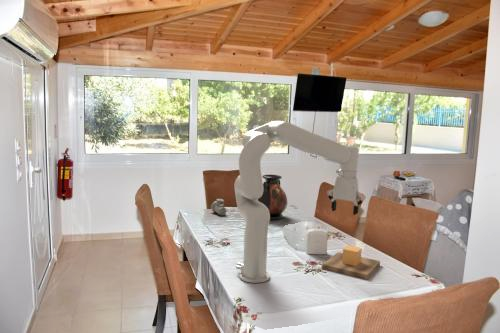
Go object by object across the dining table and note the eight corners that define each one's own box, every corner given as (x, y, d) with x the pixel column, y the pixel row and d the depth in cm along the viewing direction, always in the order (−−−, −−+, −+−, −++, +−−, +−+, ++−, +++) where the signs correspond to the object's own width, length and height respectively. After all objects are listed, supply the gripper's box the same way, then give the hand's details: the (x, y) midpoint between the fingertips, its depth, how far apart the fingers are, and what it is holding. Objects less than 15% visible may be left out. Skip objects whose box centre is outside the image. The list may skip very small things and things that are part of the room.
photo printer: (306, 254, 192) (307, 230, 191) (305, 251, 197) (306, 227, 195) (327, 255, 192) (329, 230, 191) (326, 252, 196) (327, 228, 195)
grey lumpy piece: (209, 211, 271) (211, 197, 269) (220, 211, 275) (222, 197, 273) (216, 217, 261) (218, 203, 259) (227, 217, 264) (229, 203, 263)
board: (321, 268, 175) (322, 253, 174) (338, 256, 192) (338, 242, 191) (367, 279, 164) (368, 263, 163) (379, 265, 181) (380, 250, 180)
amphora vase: (266, 212, 277) (267, 172, 273) (292, 217, 264) (294, 175, 261) (247, 217, 260) (249, 175, 256) (275, 223, 247) (277, 179, 244)
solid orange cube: (342, 263, 177) (343, 249, 176) (347, 259, 182) (347, 245, 181) (356, 266, 173) (357, 252, 172) (360, 262, 179) (361, 248, 178)
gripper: (325, 172, 174) (322, 210, 176) (364, 177, 165) (360, 217, 166) (332, 171, 180) (329, 207, 182) (369, 175, 171) (366, 214, 173)
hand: (344, 212), depth 174 cm, fingers open, 9 cm apart
